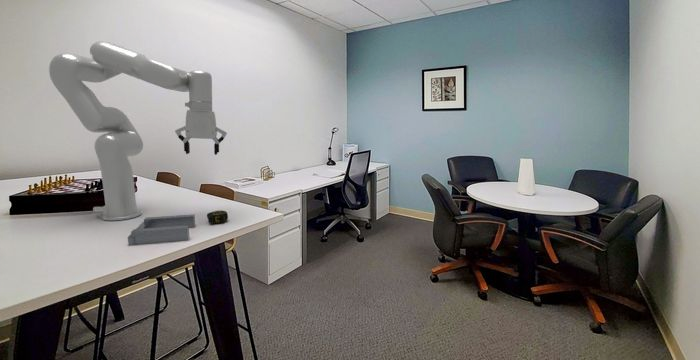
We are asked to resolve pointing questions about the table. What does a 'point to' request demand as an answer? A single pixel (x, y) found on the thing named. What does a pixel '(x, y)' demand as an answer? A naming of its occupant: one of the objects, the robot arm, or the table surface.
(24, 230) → the table surface
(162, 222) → the c-clamp
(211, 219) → the tape measure
